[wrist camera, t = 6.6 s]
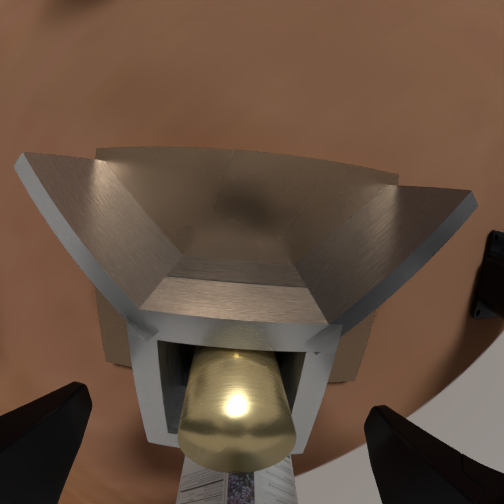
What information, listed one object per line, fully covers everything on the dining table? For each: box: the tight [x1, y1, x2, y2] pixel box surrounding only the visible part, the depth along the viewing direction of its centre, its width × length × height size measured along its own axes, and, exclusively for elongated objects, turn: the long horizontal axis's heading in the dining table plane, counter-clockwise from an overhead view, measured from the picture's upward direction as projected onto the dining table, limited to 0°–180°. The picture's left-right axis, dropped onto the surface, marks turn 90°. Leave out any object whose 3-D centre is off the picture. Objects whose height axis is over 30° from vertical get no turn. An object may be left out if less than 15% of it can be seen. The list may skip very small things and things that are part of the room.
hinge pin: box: [177, 345, 297, 473], centre depth 10 cm, size 3×3×8 cm
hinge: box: [14, 147, 478, 454], centre depth 11 cm, size 15×12×7 cm
